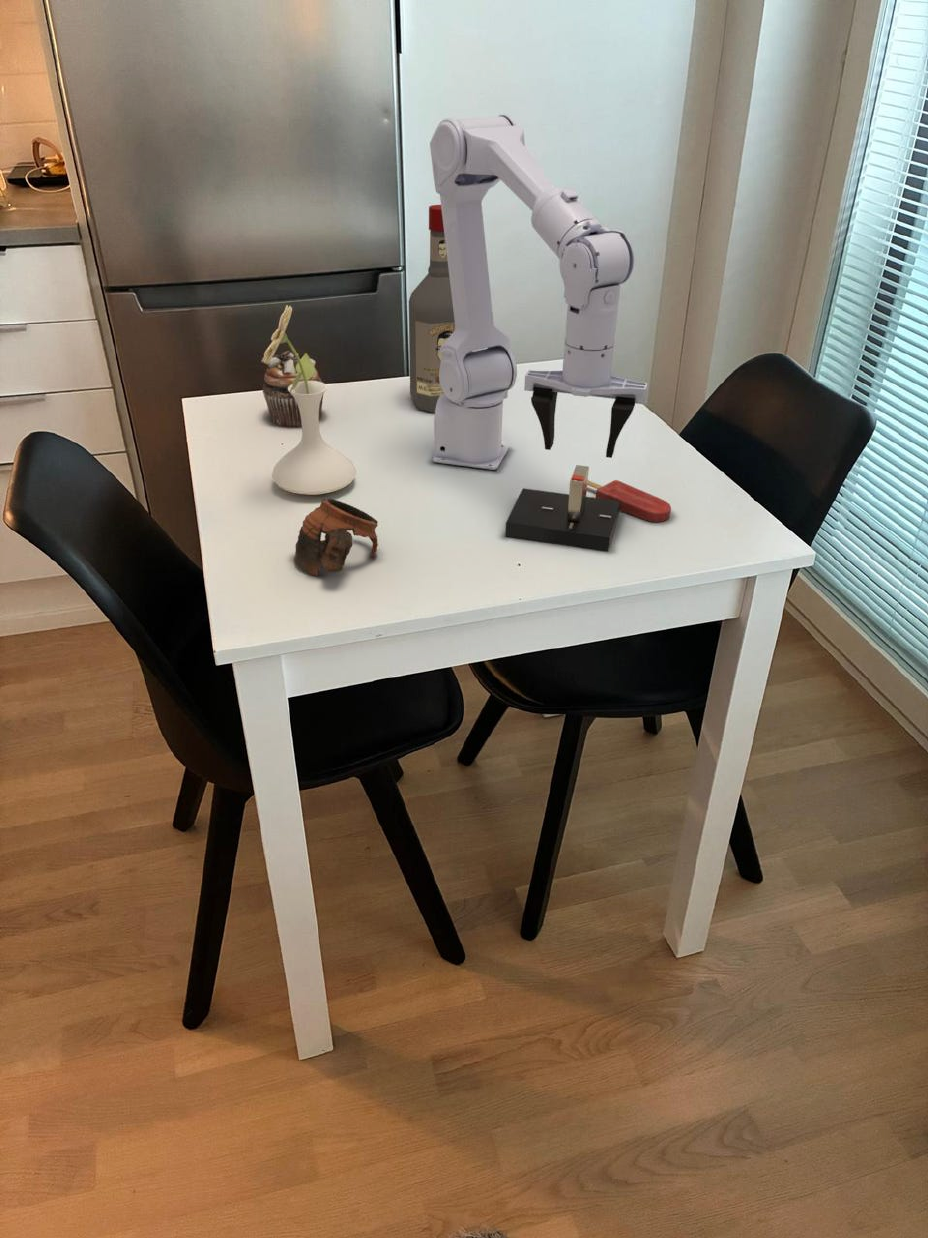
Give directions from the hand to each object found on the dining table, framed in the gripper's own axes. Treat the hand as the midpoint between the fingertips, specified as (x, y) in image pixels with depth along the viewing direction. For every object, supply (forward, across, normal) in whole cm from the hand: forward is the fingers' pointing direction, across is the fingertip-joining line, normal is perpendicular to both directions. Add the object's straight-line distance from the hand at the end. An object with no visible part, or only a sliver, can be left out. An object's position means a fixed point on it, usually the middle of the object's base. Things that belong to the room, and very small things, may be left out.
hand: (579, 450), depth 119 cm
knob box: (+9, -1, -3) cm, 10 cm away
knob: (+7, +1, -3) cm, 8 cm away
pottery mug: (+10, -25, -20) cm, 33 cm away
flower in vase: (+10, -36, -2) cm, 37 cm away
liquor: (+10, -28, +33) cm, 44 cm away
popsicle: (+10, +5, +6) cm, 12 cm away
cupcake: (+10, -48, +20) cm, 53 cm away
